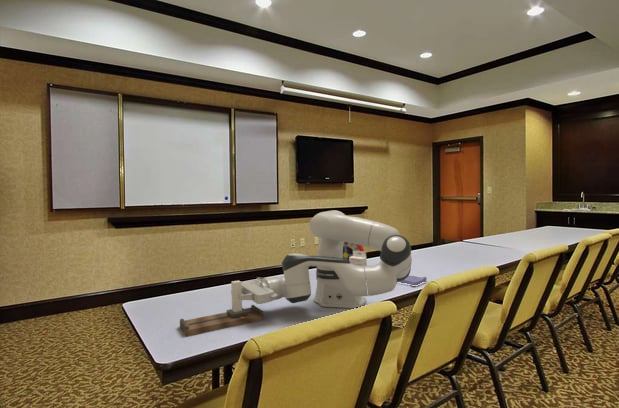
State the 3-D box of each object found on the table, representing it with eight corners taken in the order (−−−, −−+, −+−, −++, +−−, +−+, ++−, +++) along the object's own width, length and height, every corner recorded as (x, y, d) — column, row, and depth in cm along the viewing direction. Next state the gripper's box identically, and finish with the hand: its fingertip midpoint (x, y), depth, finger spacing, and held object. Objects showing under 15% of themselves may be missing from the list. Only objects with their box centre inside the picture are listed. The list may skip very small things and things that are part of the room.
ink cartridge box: (348, 278, 193) (348, 251, 192) (352, 276, 197) (352, 250, 197) (363, 280, 188) (363, 252, 188) (367, 278, 192) (366, 251, 192)
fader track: (253, 311, 142) (252, 304, 142) (263, 319, 134) (263, 311, 134) (179, 326, 128) (179, 318, 127) (186, 336, 119) (186, 327, 119)
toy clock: (329, 271, 211) (328, 237, 210) (331, 269, 216) (331, 236, 215) (362, 273, 204) (362, 238, 203) (364, 271, 209) (364, 237, 209)
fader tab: (241, 310, 138) (241, 278, 137) (247, 314, 132) (246, 282, 132) (226, 313, 134) (225, 281, 134) (232, 318, 129) (231, 284, 129)
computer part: (378, 273, 205) (362, 278, 194) (378, 266, 204) (362, 271, 194) (427, 282, 184) (414, 288, 173) (427, 274, 184) (414, 279, 173)
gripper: (281, 304, 131) (245, 311, 124) (259, 291, 149) (226, 296, 142) (281, 287, 131) (245, 293, 124) (258, 276, 149) (226, 281, 141)
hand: (235, 295), depth 133 cm, fingers open, 6 cm apart
